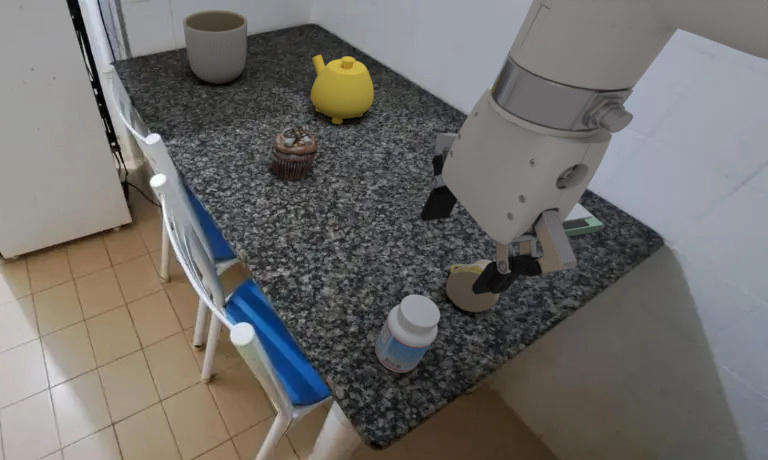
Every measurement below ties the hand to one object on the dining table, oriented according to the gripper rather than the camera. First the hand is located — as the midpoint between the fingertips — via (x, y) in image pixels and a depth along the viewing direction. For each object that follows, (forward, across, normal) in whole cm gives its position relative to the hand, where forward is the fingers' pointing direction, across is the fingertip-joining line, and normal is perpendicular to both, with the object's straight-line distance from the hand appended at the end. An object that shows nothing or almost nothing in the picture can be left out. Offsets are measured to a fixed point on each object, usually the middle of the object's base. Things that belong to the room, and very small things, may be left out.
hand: (458, 250), depth 39 cm
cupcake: (+22, +44, +4) cm, 49 cm away
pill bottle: (+22, 0, 0) cm, 22 cm away
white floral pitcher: (+22, +8, -16) cm, 28 cm away
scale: (+22, +21, -40) cm, 50 cm away
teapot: (+22, +67, -14) cm, 72 cm away
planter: (+22, +91, +13) cm, 94 cm away
